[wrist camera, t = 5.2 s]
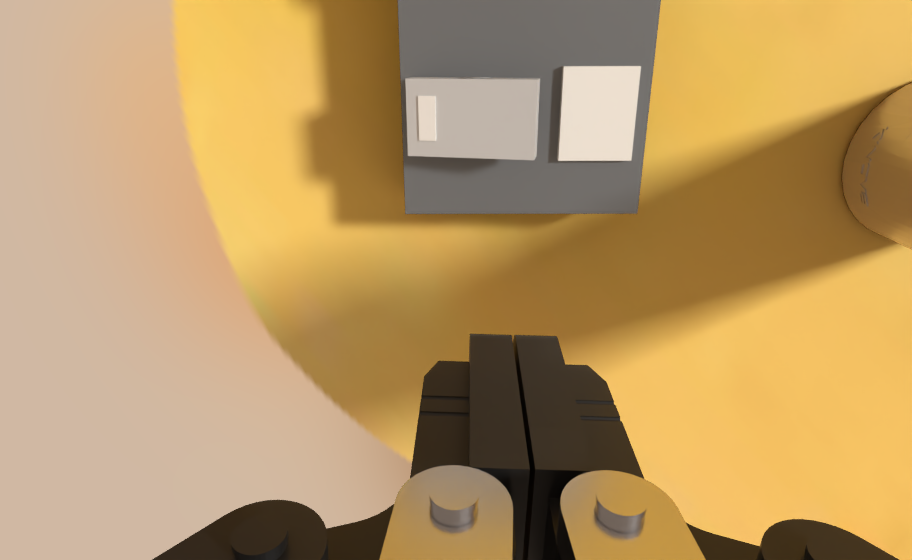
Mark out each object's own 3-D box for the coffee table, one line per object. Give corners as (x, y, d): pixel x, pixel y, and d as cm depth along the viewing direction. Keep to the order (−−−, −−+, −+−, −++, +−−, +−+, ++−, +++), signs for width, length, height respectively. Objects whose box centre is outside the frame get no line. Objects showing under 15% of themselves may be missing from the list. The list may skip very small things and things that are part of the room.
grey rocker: (541, 77, 28) (537, 79, 26) (537, 153, 29) (533, 160, 27) (416, 76, 29) (404, 78, 27) (418, 149, 30) (407, 156, 29)
